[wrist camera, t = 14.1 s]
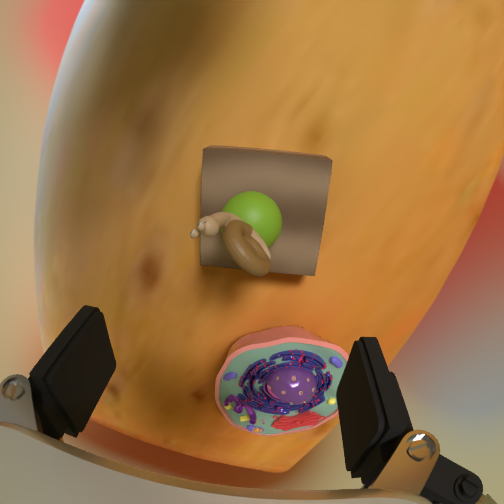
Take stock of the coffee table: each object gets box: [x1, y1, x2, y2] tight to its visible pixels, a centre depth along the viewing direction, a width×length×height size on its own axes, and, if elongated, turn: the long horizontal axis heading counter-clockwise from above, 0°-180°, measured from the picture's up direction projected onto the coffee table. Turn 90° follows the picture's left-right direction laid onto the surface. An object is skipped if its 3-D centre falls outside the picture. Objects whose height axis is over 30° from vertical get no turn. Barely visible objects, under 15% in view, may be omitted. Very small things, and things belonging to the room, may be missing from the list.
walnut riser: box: [200, 146, 332, 276], centre depth 31 cm, size 12×12×4 cm
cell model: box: [215, 325, 349, 436], centre depth 36 cm, size 17×20×11 cm
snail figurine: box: [190, 191, 282, 277], centre depth 24 cm, size 5×6×12 cm
